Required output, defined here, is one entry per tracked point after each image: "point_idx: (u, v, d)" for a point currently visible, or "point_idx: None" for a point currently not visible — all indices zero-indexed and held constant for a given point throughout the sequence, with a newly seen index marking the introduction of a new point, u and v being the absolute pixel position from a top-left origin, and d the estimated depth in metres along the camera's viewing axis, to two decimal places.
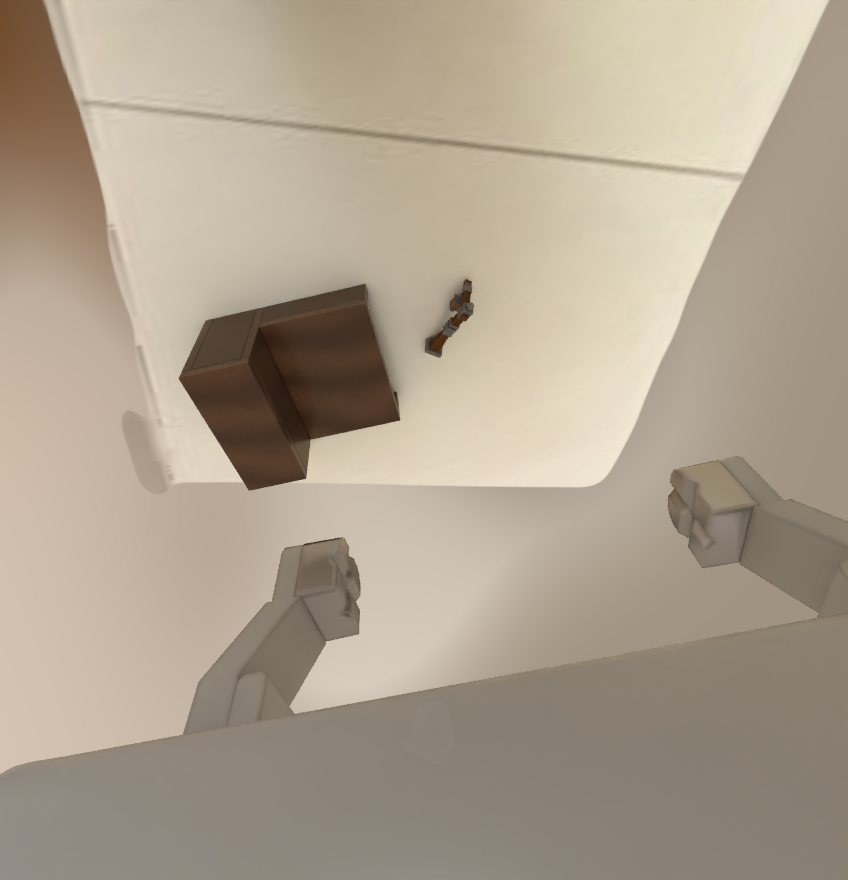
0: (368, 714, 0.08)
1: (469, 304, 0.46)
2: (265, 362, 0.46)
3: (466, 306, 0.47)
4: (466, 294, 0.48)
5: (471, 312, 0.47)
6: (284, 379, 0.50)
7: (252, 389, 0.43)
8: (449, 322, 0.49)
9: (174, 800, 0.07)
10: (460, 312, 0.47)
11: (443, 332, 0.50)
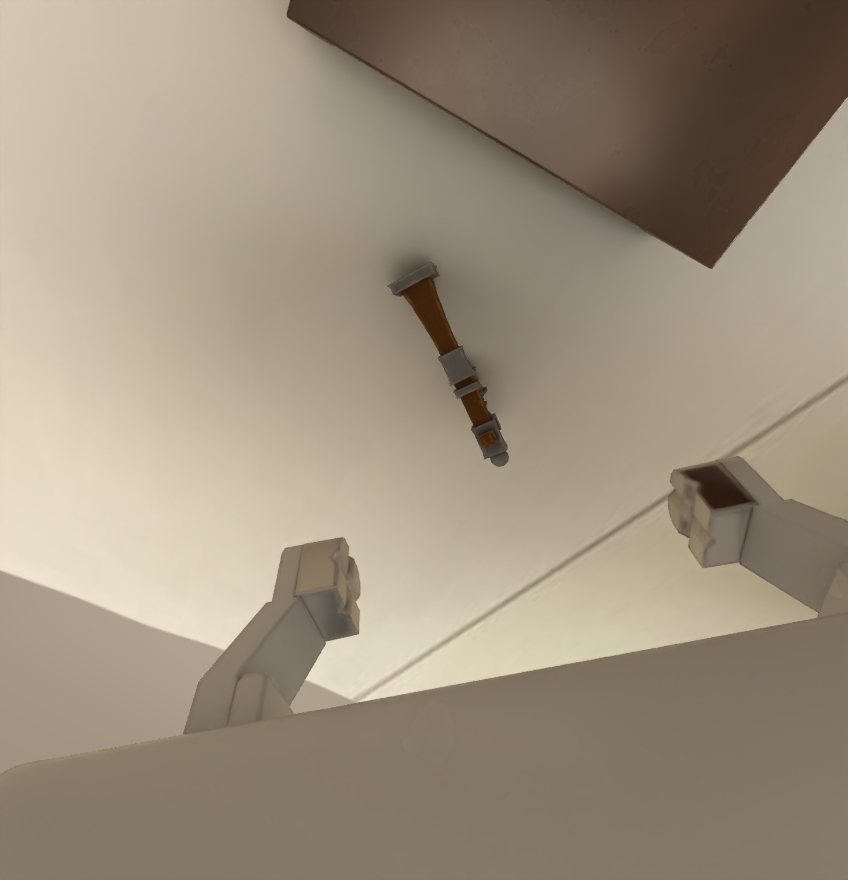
0: (368, 714, 0.08)
1: (507, 461, 0.20)
2: None
3: (505, 452, 0.20)
4: None
5: (488, 457, 0.20)
6: None
7: None
8: (476, 379, 0.20)
9: (174, 800, 0.07)
10: (498, 430, 0.20)
11: (461, 350, 0.19)
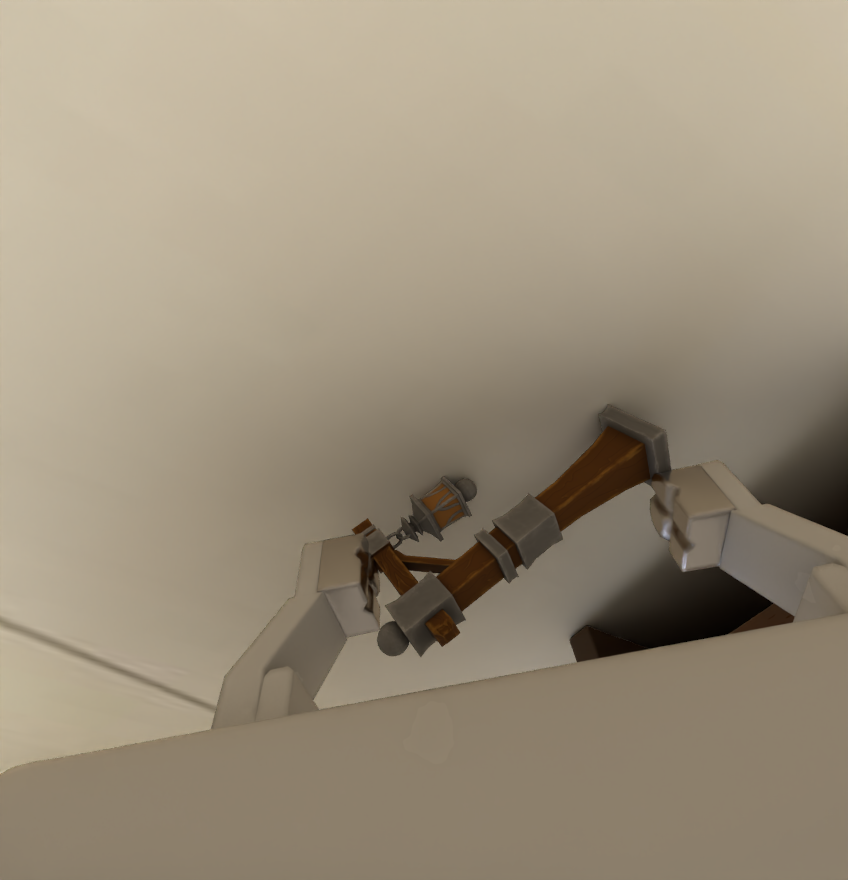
0: (368, 714, 0.08)
1: None
2: None
3: None
4: None
5: (405, 634, 0.11)
6: None
7: None
8: None
9: (174, 800, 0.07)
10: None
11: (555, 539, 0.12)
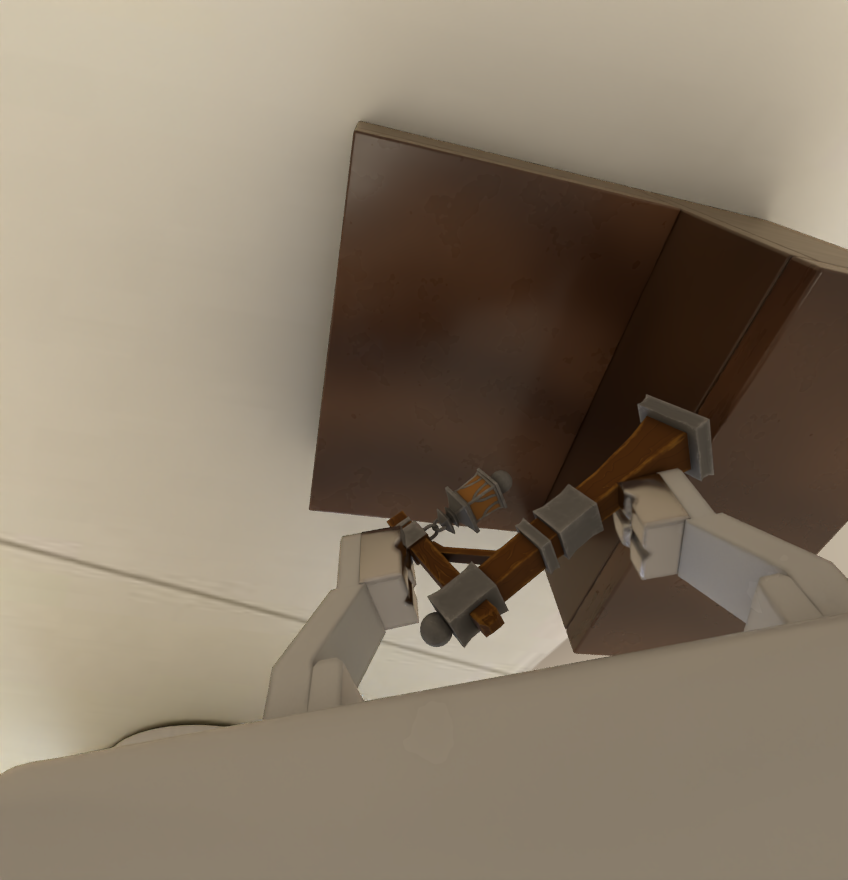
0: (368, 714, 0.08)
1: None
2: None
3: None
4: None
5: (449, 624, 0.11)
6: (577, 426, 0.20)
7: (619, 612, 0.17)
8: None
9: (174, 800, 0.07)
10: None
11: (596, 530, 0.12)
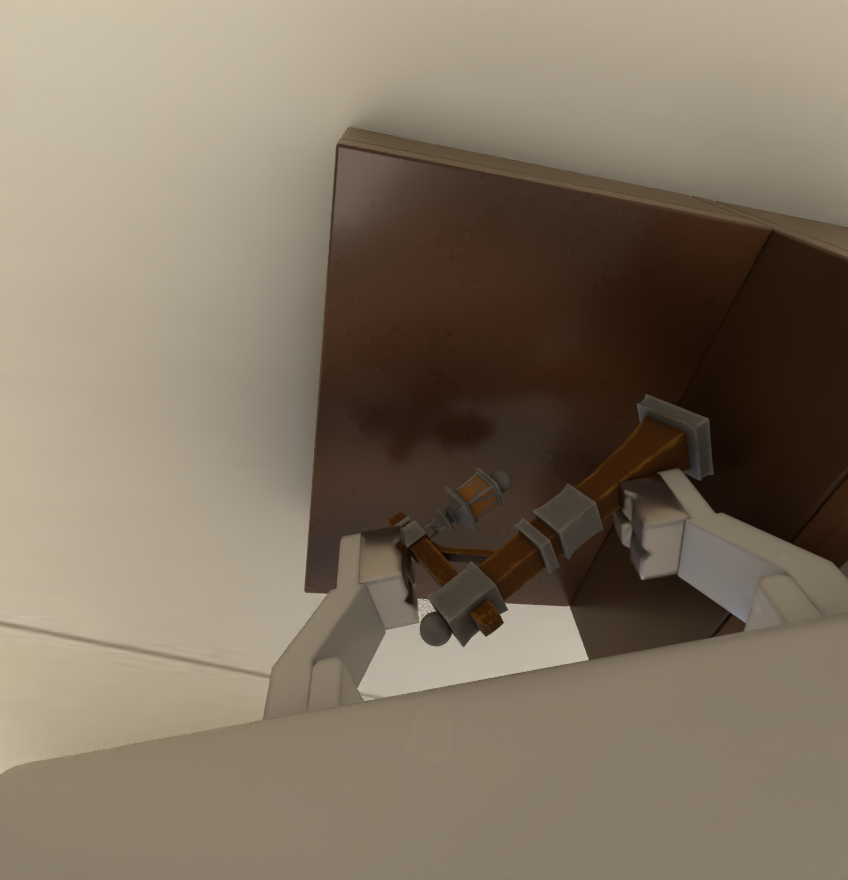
0: (368, 714, 0.08)
1: None
2: (615, 624, 0.16)
3: None
4: None
5: (449, 624, 0.11)
6: None
7: None
8: None
9: (174, 800, 0.07)
10: None
11: (596, 529, 0.12)
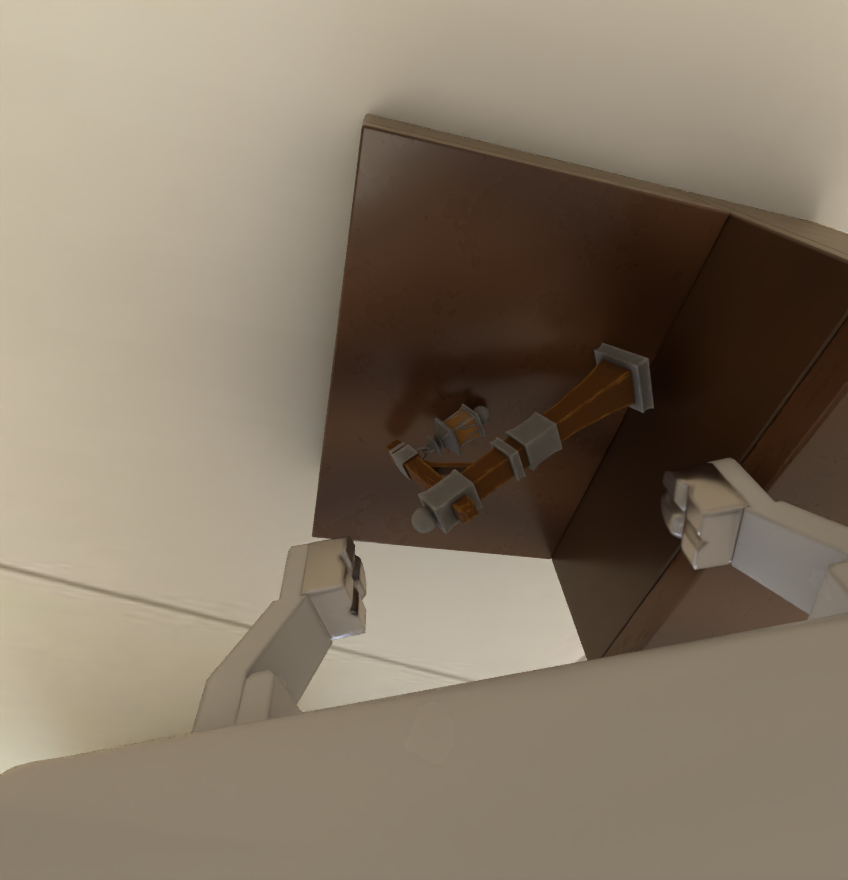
0: (368, 714, 0.08)
1: (420, 531, 0.14)
2: (590, 567, 0.18)
3: None
4: (416, 481, 0.16)
5: (435, 512, 0.13)
6: (604, 448, 0.18)
7: None
8: None
9: (174, 800, 0.07)
10: None
11: (556, 448, 0.15)
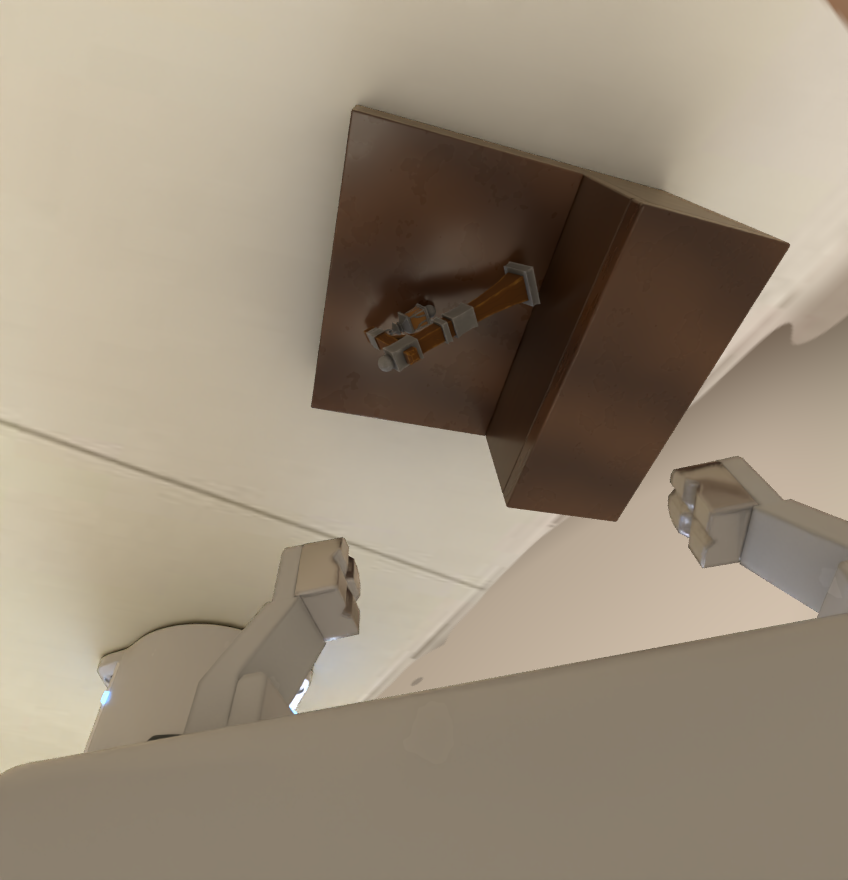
0: (368, 714, 0.08)
1: (383, 370, 0.22)
2: (506, 427, 0.26)
3: (391, 369, 0.22)
4: (383, 348, 0.23)
5: (392, 355, 0.21)
6: (517, 343, 0.26)
7: (537, 470, 0.23)
8: None
9: (174, 800, 0.07)
10: None
11: (474, 326, 0.23)
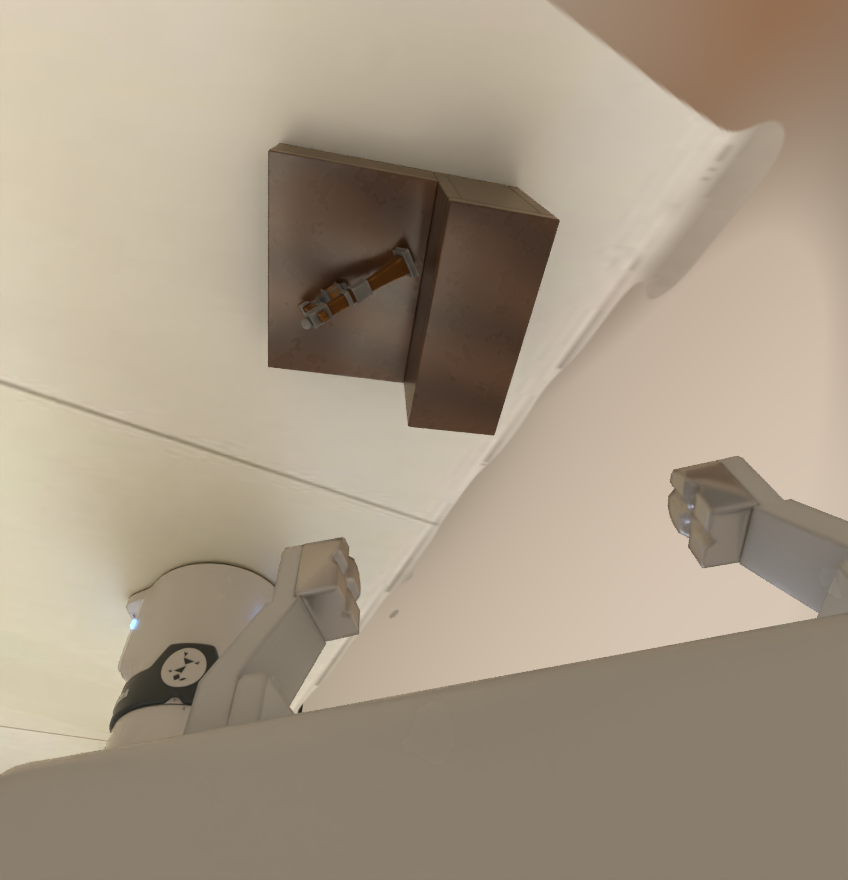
0: (368, 714, 0.08)
1: (305, 328, 0.31)
2: (410, 370, 0.36)
3: None
4: None
5: (309, 317, 0.31)
6: (414, 308, 0.35)
7: (424, 395, 0.33)
8: None
9: (174, 800, 0.07)
10: None
11: (370, 294, 0.32)
